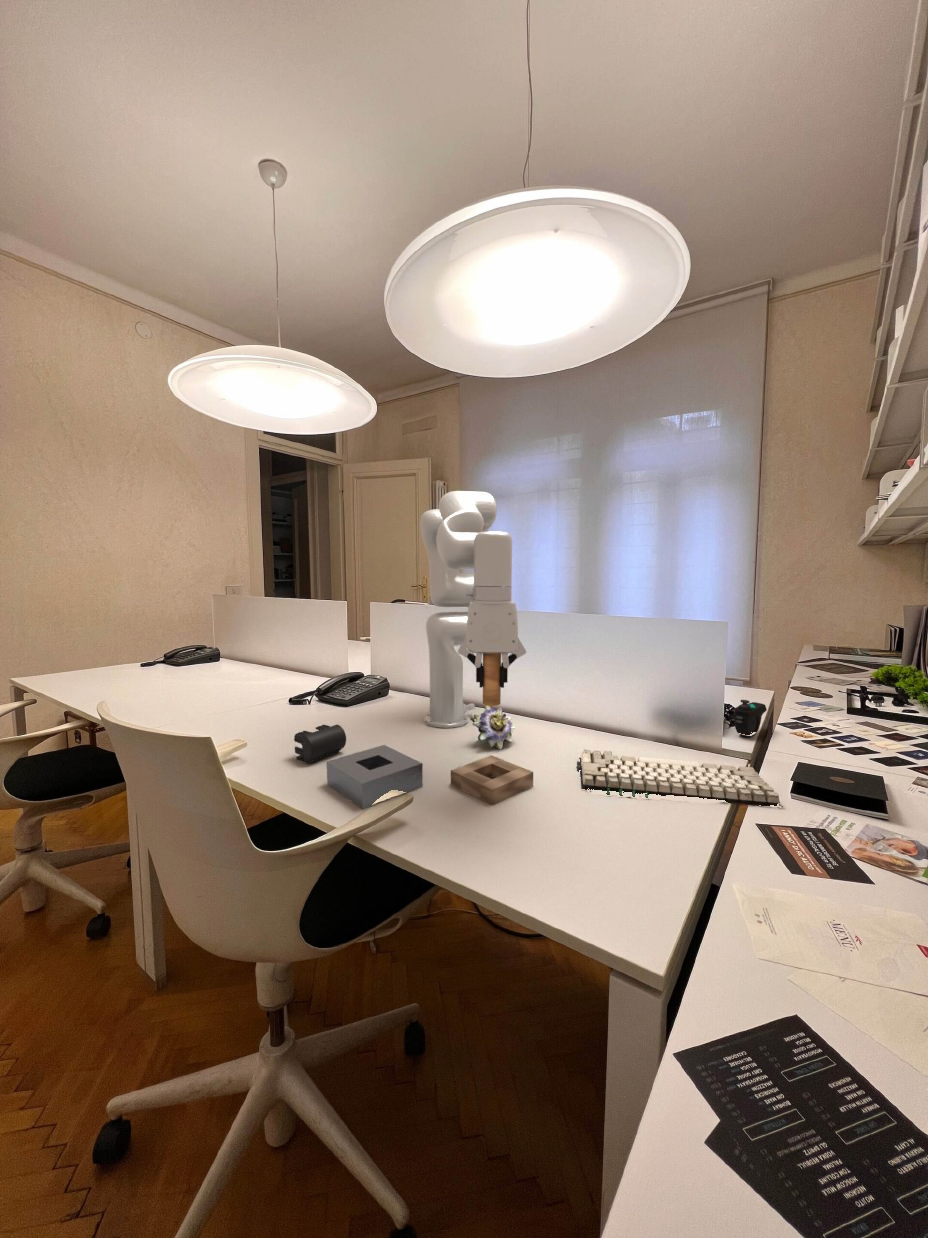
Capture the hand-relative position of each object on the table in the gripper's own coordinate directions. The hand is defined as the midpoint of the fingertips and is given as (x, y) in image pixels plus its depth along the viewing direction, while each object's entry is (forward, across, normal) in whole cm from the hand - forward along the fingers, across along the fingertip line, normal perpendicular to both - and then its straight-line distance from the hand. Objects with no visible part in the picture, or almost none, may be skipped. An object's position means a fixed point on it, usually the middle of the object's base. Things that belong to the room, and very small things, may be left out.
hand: (491, 685), depth 101 cm
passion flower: (+21, 0, +24) cm, 32 cm away
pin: (+4, 0, 0) cm, 4 cm away
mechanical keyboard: (+22, +37, +4) cm, 44 cm away
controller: (+21, +69, +33) cm, 79 cm away
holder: (+21, 0, 0) cm, 21 cm away
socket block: (+21, -24, -2) cm, 32 cm away
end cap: (+21, -40, +13) cm, 47 cm away
